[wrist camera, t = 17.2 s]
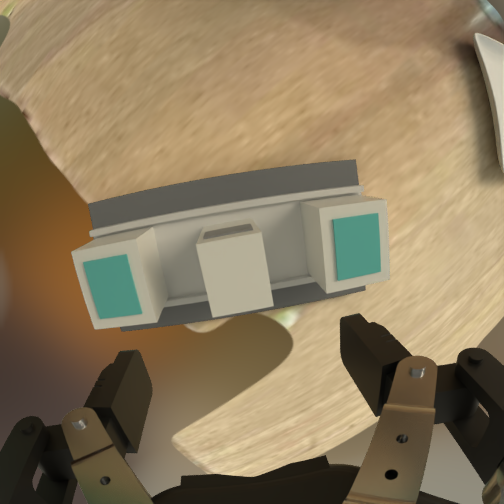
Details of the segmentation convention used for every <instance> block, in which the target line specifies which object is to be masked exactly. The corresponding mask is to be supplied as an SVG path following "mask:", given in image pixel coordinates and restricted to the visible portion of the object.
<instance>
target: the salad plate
mask: <svg viewBox="0 0 504 504" xmlns="http://www.w3.org/2000/svg"><path fill="white" fill-rule="evenodd" d="M473 42H474V47H475V51H476V55H477V58H478V61H479V64H480V67H481V70H482V74H483V77H484V81H485V85H486V89H487V93H488V97H489V102H490V107H491V112H492V117H493V123H494V130H495V137H496V147H497V155H498V161H499V164H500V167H501V170H502V171H503V173H504V44H503V43H500V42H498V41H496V40H494V39H492V38H490V37H487V36H485V35H483V34H480V33H475V34H474V36H473Z"/></svg>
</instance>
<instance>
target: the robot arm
mask: <svg viewBox="0 0 504 504" xmlns="http://www.w3.org/2000/svg"><path fill="white" fill-rule="evenodd" d="M340 353H341V358H342V361H343V364H344V366H345V367H346V369H347V371H348V372H349V374H350V376H351V377H352V379H353V380H354V382H355V384H356V385H357V387H358V389H359V390H360V392H361V393H362V395H363V397H364V398H365V400H366V402H367V403H368V405H369V407H370V408H371V410H372V411H373V413H374V415H375V416H376V417H377V416H380V418H379V421H378V424H377V427H376V430H375V433H374V435H373V438H372V441H371V443H370V446H369V448H368V451H367V453H366V456H365V458H364V461H363V463H362V466H361V467H358V466H353V465H346V464H329V463H328V461H327V458H326V455H325V456H321V457H317V458H313V459H309V460H304V461H300V462H295V463H290V464H288V465H285V466H283V467H280V468H278V469H275V470H273V471H270V472H267V473H265V474H262V475H259V476H256V477H243V476H231V475H221V474H208V475H190V476H181V485H180V486H176V487H173V488H170V489H167V490H165V491H163V492H161V493H159V494H157V495H155V496H154V497H151V495H150V494H149V493H148V492H147V490H146V489H145V487H144V486H143V485H142V483H141V482H140V481H139V479H138V478H137V477H136V475H135V474H134V472H133V471H132V469H131V468H130V466H129V465H128V463H127V462H126V460H125V459H124V458H125V455H126V453H137V452H138V448H139V444H140V440H141V436H142V431H143V428H144V424H145V420H146V416H147V412H148V408H149V405H150V401H151V397H152V383H151V380H150V377H149V375H148V372H147V369H146V367H145V364H144V361H143V359H142V356H141V354H140V352H139V351H138V350H127V351H120V352H119V353H118V355H117V357H116V359H115V361H114V363H113V364H109V365H108V366H107V367H106V368H105V369H104V370H103V371H102V372H101V374H100V376H99V378H98V381H96V383H95V387H93V389H92V391H91V393H90V395H89V397H88V399H87V401H86V403H85V405H84V407H82V408H77V409H74V410H72V411H70V412H69V413H68V414H66V415H65V417H64V418H63V420H62V423H61V424H59V425H53V426H47V427H46V426H45V425H44V423H43V422H42V420H41V419H40V418H38V417H35V416H29V417H26V418H23V419H21V420H20V421H19V422H18V423H17V424H16V425H15V426H14V428H13V430H12V431H11V433H10V435H9V437H8V438H7V440H6V442H5V444H4V446H3V448H2V450H1V451H0V504H72V501H73V497H74V493H75V490H76V486H77V482H78V483H79V485H80V488H81V490H82V492H83V494H84V496H85V498H86V500H87V503H88V504H458V503H456V502H452V501H449V500H446V499H443V498H439V497H436V496H433V495H431V494H427V493H425V492H422V491H420V487H421V483H422V479H423V475H424V471H425V466H426V462H427V457H428V453H429V448H430V442H431V437H432V431H433V425H434V424H439V423H444V424H445V426H446V427H447V429H448V430H449V431H450V433H451V434H452V436H453V437H454V439H455V440H456V442H457V443H458V445H459V446H460V448H461V449H462V451H463V452H464V454H465V455H466V457H467V458H468V459H469V461H470V463H471V464H472V466H473V467H474V469H475V470H476V472H477V473H478V474H479V476H480V478H481V479H482V481H483V483H484V484H485V487H484V488H483V491H482V501H483V503H484V504H504V366H503V365H502V364H501V363H500V362H499V361H498V360H497V359H496V358H494V357H493V356H492V355H491V354H490V353H489V352H487V351H486V350H483V349H480V348H467V349H465V350H463V351H461V352H460V353H459V355H458V358H457V362H456V363H453V364H447V365H440V366H437V365H436V363H435V362H434V361H433V360H431V359H429V358H427V357H424V356H412V355H411V354H410V353H409V352H408V351H407V349H406V348H405V347H404V346H403V345H402V344H401V343H400V342H399V341H398V340H396V339H395V337H394V336H393V335H392V334H390V332H389V331H388V330H387V329H386V328H385V327H384V326H382V325H379V324H377V323H375V322H371V323H368V322H367V321H366V320H365V318H364V317H363V316H362V315H361V314H359V313H358V314H354V315H349V316H345V317H341V319H340ZM479 402H480V404H481V405H482V406H483V407H484V408H485V409H486V411H487V412H488V414H489V417H488V416H487V415H486V414H485V413H484V411H483V410H482V409H481V408H480V407H479V406H478V405H479ZM37 466H38V467H39V468H40V469H41V471H42V472H43V473H42V476H41V478H40V481H39V484H38V487H37V489H36V491H35V490H34V488H33V485H32V479H33V476H34V474H35V471H36V469H37Z"/></svg>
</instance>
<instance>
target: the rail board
mask: <svg viewBox="0 0 504 504" xmlns="http://www.w3.org/2000/svg"><path fill="white" fill-rule="evenodd" d="M363 191H364V186H363V185H359V182H358V174H357V166H356V160H344V161H332V162H322V163H312V164H303V165H295V166H286V167H278V168H271V169H263V170H256V171H249V172H243V173H236V174H230V175H224V176H218V177H212V178H206V179H200V180H195V181H189V182H184V183H179V184H174V185H169V186H164V187H159V188H154V189H149V190H145V191H140V192H136V193H131V194H127V195H123V196H118V197H114V198H110V199H106V200H102V201H98V202H94V203H90V204H88V206H89V211H90V216H91V221H92V226H93V230H91V231H89V233H90V237H93V238H94V240H93V241H91V242H89V243H87V244H85V245H83V246H81V247H79V248H78V249H76V250H74V251H72V252H71V253H72V257H73V261H74V265H75V269H76V272H77V276H78V279H79V283H80V286H81V290H82V293H83V296H84V299H85V303H86V305H87V309H88V312H89V314H90V318H91V320H92V323H93V326H94V329H105V328H114V327H120V328H121V331H132V330H140V329H149V328H157V327H164V326H172V325H179V324H187V323H194V322H201V321H207V320H214V319H220V318H226V317H233V316H239V315H245V314H250V313H256V312H262V311H267V310H273V309H278V308H284V307H289V306H294V305H299V304H304V303H309V302H314V301H319V300H324V299H328V298H333V297H338V296H342V295H347V294H351V293H356V292H360V291H364V290H365V285H369V284H373V283H378V282H382V281H386V280H390V259H389V230H388V213H387V200H386V199H382V198H376V197H370V196H363V195H361V192H363ZM246 218H252V219H253V221H254V222H255V224H256V225H257V226H258V228H259V229H260V231H261V232H262V237H263V243H264V249H265V255H266V261H267V267H268V274H269V280H270V286H271V292H272V298H273V305H274V306H272V307H267V308H262V309H257V310H252V311H246V312H241V313H236V314H230V315H225V316H219V317H212V312H211V308H210V304H209V300H208V296H207V292H206V287H205V283H204V279H203V274H202V270H201V265H200V261H199V256H198V252H197V247H196V243H197V241H198V238H199V236H200V234H201V231H202V229H203V226H209V225H214V224H219V223H224V222H230V221H235V220H240V219H246Z"/></svg>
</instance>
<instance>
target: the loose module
mask: <svg viewBox="0 0 504 504" xmlns="http://www.w3.org/2000/svg"><path fill="white" fill-rule="evenodd" d="M196 247H197V252H198V256H199V261H200V265H201V270H202V274H203V279H204V283H205V287H206V292H207V296H208V300H209V304H210V308H211V312H212V317H219V316H225V315H230V314H236V313H241V312H246V311H252V310H257V309H262V308H267V307H272V306H274V305H273V298H272V292H271V286H270V280H269V274H268V267H267V261H266V255H265V249H264V243H263V237H262V232H261V231H260V229H259V228H258V226H257V225H256V224H255V222H254V221H253V219H252V218H246V219H240V220H235V221H230V222H224V223H219V224H214V225H209V226H203V229H202V231H201V234H200V236H199V238H198V241H197V243H196Z"/></svg>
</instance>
